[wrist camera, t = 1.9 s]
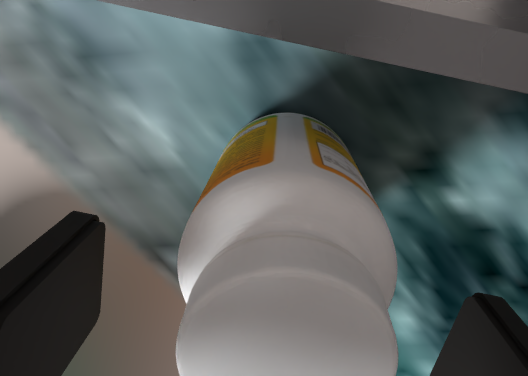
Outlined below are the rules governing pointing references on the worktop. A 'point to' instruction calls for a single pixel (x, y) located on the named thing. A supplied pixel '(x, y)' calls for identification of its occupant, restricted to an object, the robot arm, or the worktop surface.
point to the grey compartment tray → (383, 31)
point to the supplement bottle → (286, 261)
